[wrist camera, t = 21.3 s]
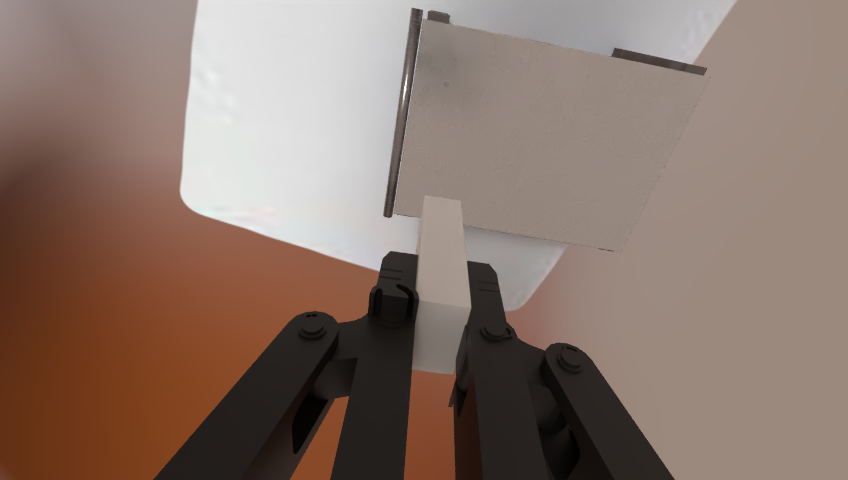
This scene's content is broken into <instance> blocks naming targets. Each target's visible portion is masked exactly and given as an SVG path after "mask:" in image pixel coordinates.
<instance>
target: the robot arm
mask: <svg viewBox="0 0 848 480" xmlns="http://www.w3.org/2000/svg"><path fill="white" fill-rule="evenodd" d="M455 365H456V380H455V383H454V387H453V390H452V394H451V398H450V402H449V407H452V405H454V406H453V408H454V445H455V479H456V480H675V479H674V478H673V477H672V475H671V474H670V472H669V471H668V469H667V468H666V467H665V465H664V464H663V462H662V461H661V459H660V458H659V456H658V455H657V454H656V452H655V451H654V449H653V448H652V446H651V445H650V443H649V442H648V440H647V439H646V438H645V436H644V435H643V433H642V432H641V430H640V429H639V427H638V426H637V425H636V423H635V422H634V420H633V419H632V417H631V416H630V415H629V413H628V412H627V410H626V409H625V407H624V406H623V404H622V403H621V402H620V400H619V399H618V397H617V396H616V394H615V393H614V392H613V390H612V389H611V387H610V386H609V384H608V383H607V381H606V380H605V378H604V377H603V376H602V374H601V373H600V371H599V370H598V369H597V367H596V366H595V364H594V363H593V361H592V360H591V359H590V358H589V357H588V356H587V354H586V353H584V352H583V351H582V350H580V349H579V348H577V347H575V346H572V345H569V344H567V343H555V344H551V345H550V346H549V347H548V348H547V349H546V351H544V350H542V349H539V348H537V347H534V346H531V345H529V344H527V343H525V342H523V341H521V340H520V339H518V338H517V335H516V333H515V331H514V329H513V328H512V327H511V326H510V325H509V324H508V323H507V322H506V318H505V313H504V308H503V303H502V298H501V293H500V288H499V285H498V278H497V274H496V272H495V271H494V270H493V268H492V267H491V266H490V265H489V264H485V263H478V262H471V261H467V258H466V248H465V238H464V228H463V218H462V208H461V201H459V200H453V199H446V198H439V197H432V196H426V195H425V197H424V203H423V209H422V216H421V222H420V228H419V234H418V241H417V247H416V255H415V254H408V253H400V252H393V251H390V252H389V253H388V254H387V255H386V256H385V257H384V258H383V260H382V264H381V269H380V273H379V278H378V282H377V285H376V286H374V287H373V288H372V290H371V292H370V297H369V308H368V313H367V314H366V315H365V316H363V317H362V318H360V319H357V320H355V321H350V322H343V323H337V321H336V320H335V319H334V318H333V317H332V316H330V315H328V314H326V313H323V312H317V311H313V312H305V313H302V314H300V315H297V316H296V317H294V318H293V319H292V320H291V321H290V322H289V323H288V324H287V325H286V326H285V327H284V328H283V330H282V331H281V332H280V333H279V334H278V335H277V337H276V338H275V339H274V340H273V341H272V342H271V344H270V345H269V346H268V347H267V348H266V349H265V351H264V352H263V353H262V354H261V355H260V356H259V357H258V359H257V360H256V361H255V362H254V363H253V364H252V366H251V367H250V368H249V369H248V370H247V371H246V373H245V374H244V375H243V376H242V377H241V378H240V380H239V381H238V382H237V383H236V384H235V385H234V386H233V388H232V389H231V390H230V391H229V392H228V394H227V395H226V396H225V397H224V398H223V399H222V400H221V402H220V403H219V404H218V405H217V406H216V407H215V409H214V410H213V411H212V412H211V413H210V414H209V416H208V417H207V418H206V419H205V420H204V421H203V423H202V424H201V425H200V426H199V427H198V429H196V431H195V432H194V433H193V434H192V435H191V436H190V438H189V439H188V440H187V441H186V442H185V443H184V445H183V446H182V447H181V448H180V449H179V450H178V452H177V453H176V454H175V455H174V456H173V457H172V459H171V460H170V461H169V462H168V463H167V464H166V465H165V467H164V468H163V469H162V470H161V471H160V472H159V474H158V475H157V476H156V477H155V478H154V479H153V480H290V478H291V476H292V475H293V473H294V471H295V469H296V468H297V466H298V464H299V462H300V461H301V458H302V457H303V455H304V453H305V452H306V450H307V448H308V446H309V444H310V443H311V441H312V439H313V437H314V436H315V434H316V432H317V430H318V429H319V427H320V425H321V423H322V421H323V420H324V418H325V416H326V414H327V413H328V411H329V409H330V407H331V405H332V404H333V402H334V399H335V398H340V397H346V396H349V400H348V405H347V409H346V414H345V417H344V422H343V426H342V431H341V435H340V439H339V444H338V448H337V452H336V457H335V461H334V466H333V470H332V474H331V479H330V480H404V466H405V453H406V440H407V426H408V414H409V400H410V387H411V374H412V370H420V371H427V372H434V373H442V374H450V375H453V373H454V369H455Z"/></svg>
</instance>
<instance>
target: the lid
mask: <svg viewBox="0 0 848 480" xmlns="http://www.w3.org/2000/svg"><path fill="white" fill-rule="evenodd" d="M422 16H423V10H420V9H416V8H412V9H411V17H410V24H409V31H408V38H407V46H406V53H405V60H404V68H403V75H402V82H401V89H400V97H399V104H398V111H397V119H396V126H395V133H394V141H393V148H392V155H391V162H390V170H389V177H388V184H387V192H386V199H385V206H384V213H383V216H384V217H387V218H390V217H392V215H393V208H394V201H395V195H396V188H397V181H398V175H399V168H400V162H401V155H402V148H403V142H404V135H405V128H406V122H407V115H408V108H409V102H410V95H411V89H412V82H413V75H414V69H415V62H416V55H417V49H418V42H419V35H420V29H421V22H422ZM710 79H711V77H708V76H704V75H699V74H694V73H689V72H684V71H679V70H674V69H669V68H664V67H659V66H654V65H649V64H644V63H640V62H635V61H630V60H625V59H620V58H615V57H610V56H605V55H600V54H595V53H590V52H585V51H580V50H576V49H571V48H566V47H561V46H556V45H551V44H546V43H541V42H536V41H531V40H526V39H521V38H517V37H512V36H507V35H502V34H497V33H492V32H487V31H482V30H477V29H472V28H467V27H462V26H457V25H453V24H448V23H443V22H438V21H433V20H428V19H423V24H422V31H421V37H420V44H419V51H418V57H417V64H416V70H415V77H414V83H413V90H412V96H411V103H410V110H409V116H408V123H407V129H406V136H405V142H404V149H403V156H402V162H401V169H400V175H399V182H398V188H397V195H396V202H395V208H394V214H400V215H406V216H412V217H417V218H421V216H422V209H423V203H424V197H425V195H426V196H432V197H439V198H446V199H453V200H459V201H461V208H462V218H463V225H464V226H470V227H476V228H482V229H488V230H494V231H500V232H506V233H512V234H517V235H523V236H529V237H535V238H541V239H547V240H553V241H559V242H565V243H570V244H576V245H582V246H589V247H594V248H600V249H606V250H612V251H618V252H621V250H622V248H623V246H624V245H625V243H626V241H627V239H628V237H629V235H630V233H631V231H632V229H633V227H634V225H635V223H636V221H637V219H638V217H639V216H640V214H641V212H642V210H643V208H644V206H645V204H646V202H647V200H648V198H649V196H650V194H651V192H652V190H653V189H654V187H655V185H656V183H657V181H658V179H659V177H660V175H661V173H662V171H663V169H664V167H665V165H666V163H667V162H668V159H669V158H670V156H671V154H672V152H673V150H674V148H675V146H676V144H677V142H678V140H679V138H680V137H681V135H682V133H683V131H684V129H685V127H686V125H687V123H688V121H689V119H690V117H691V115H692V113H693V112H694V110H695V108H696V106H697V104H698V102H699V100H700V98H701V96H702V94H703V92H704V90H705V88H706V86H707V84H708V83H709V81H710Z"/></svg>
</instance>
